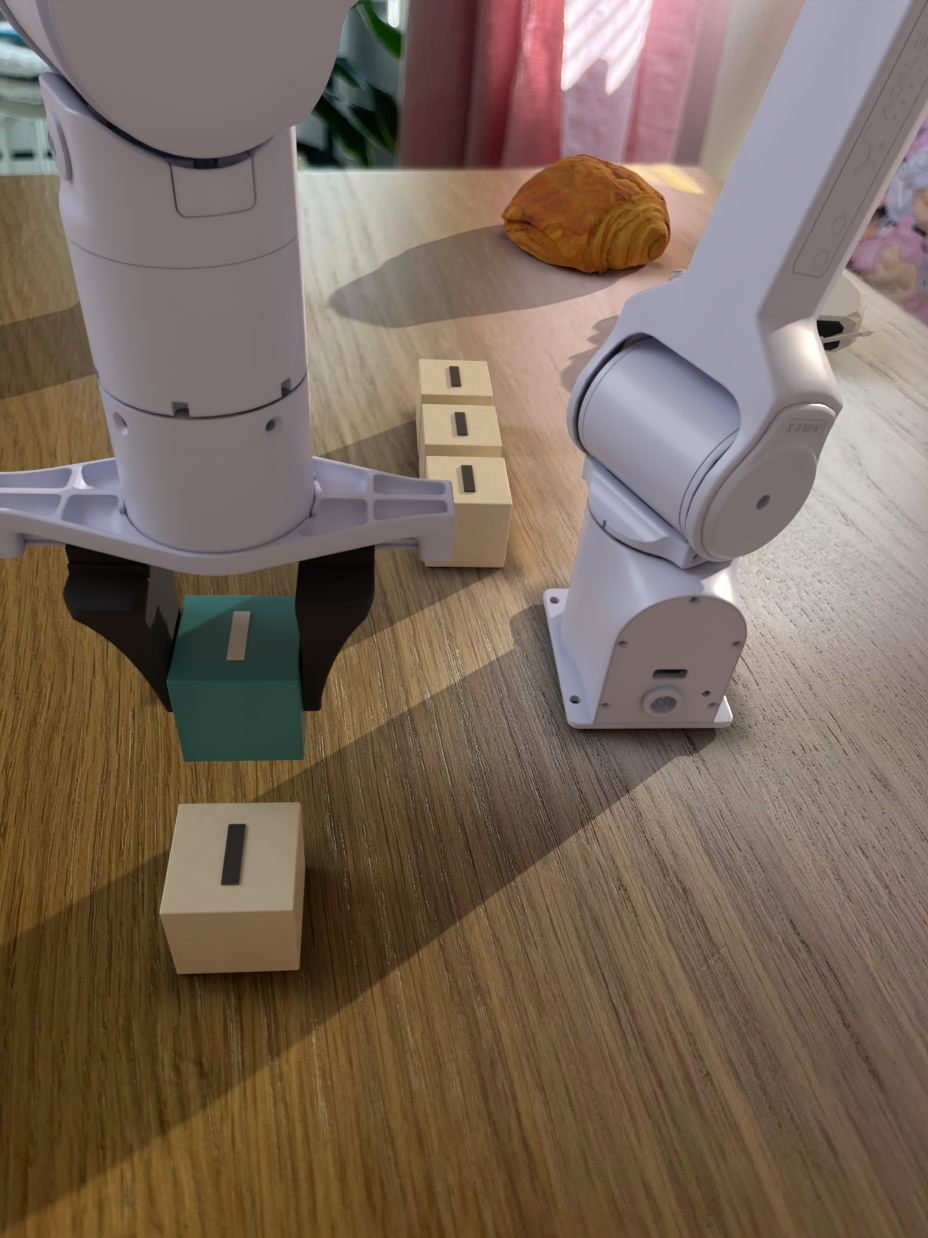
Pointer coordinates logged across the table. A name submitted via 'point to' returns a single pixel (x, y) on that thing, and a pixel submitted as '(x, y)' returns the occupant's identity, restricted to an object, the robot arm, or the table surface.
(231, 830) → the beige slotted box
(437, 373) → the cream cube block
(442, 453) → the tan wooden cube
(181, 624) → the teal cube
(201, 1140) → the table surface
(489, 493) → the beige cube
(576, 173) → the croissant
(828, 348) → the robot toy
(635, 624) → the robot arm
